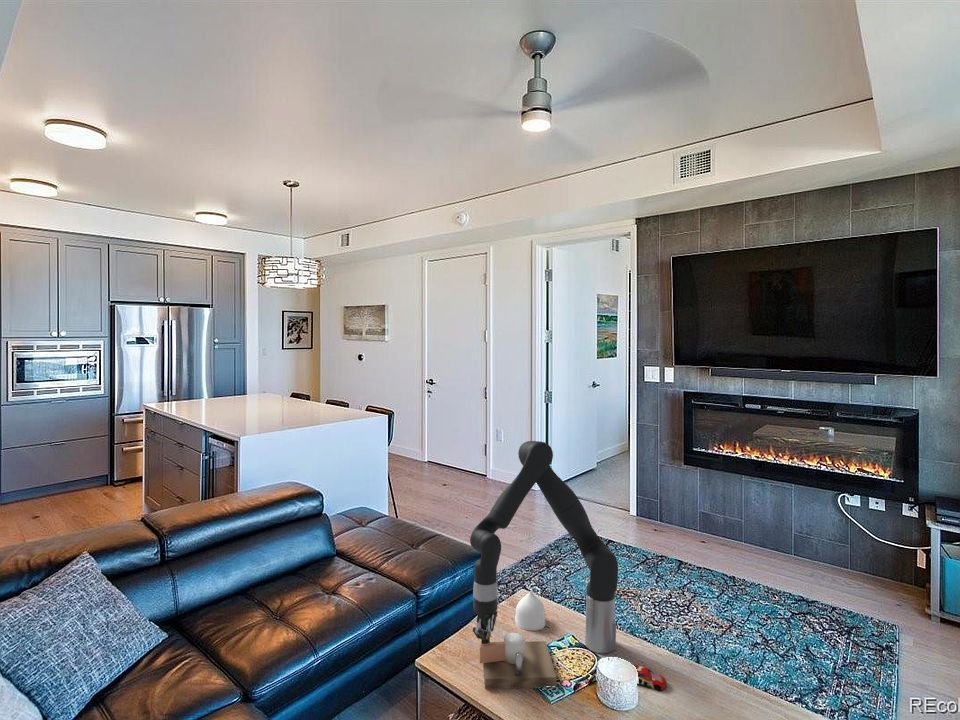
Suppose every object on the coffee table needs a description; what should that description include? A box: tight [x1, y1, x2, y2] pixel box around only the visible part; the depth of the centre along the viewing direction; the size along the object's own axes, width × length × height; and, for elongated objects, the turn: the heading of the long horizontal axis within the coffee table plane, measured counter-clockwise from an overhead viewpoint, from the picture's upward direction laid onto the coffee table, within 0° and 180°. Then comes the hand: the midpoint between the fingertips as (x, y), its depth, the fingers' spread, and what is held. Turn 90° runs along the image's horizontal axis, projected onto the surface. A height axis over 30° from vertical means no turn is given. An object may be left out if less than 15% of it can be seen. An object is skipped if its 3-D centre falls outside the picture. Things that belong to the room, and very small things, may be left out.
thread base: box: [482, 640, 558, 690], centre depth 158 cm, size 21×18×9 cm
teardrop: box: [514, 589, 546, 631], centre depth 184 cm, size 11×11×12 cm
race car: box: [632, 663, 668, 692], centre depth 153 cm, size 13×5×4 cm, turn 64°
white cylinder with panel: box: [478, 632, 526, 664], centre depth 157 cm, size 14×6×6 cm, turn 102°
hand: (485, 648), depth 159 cm, fingers closed
